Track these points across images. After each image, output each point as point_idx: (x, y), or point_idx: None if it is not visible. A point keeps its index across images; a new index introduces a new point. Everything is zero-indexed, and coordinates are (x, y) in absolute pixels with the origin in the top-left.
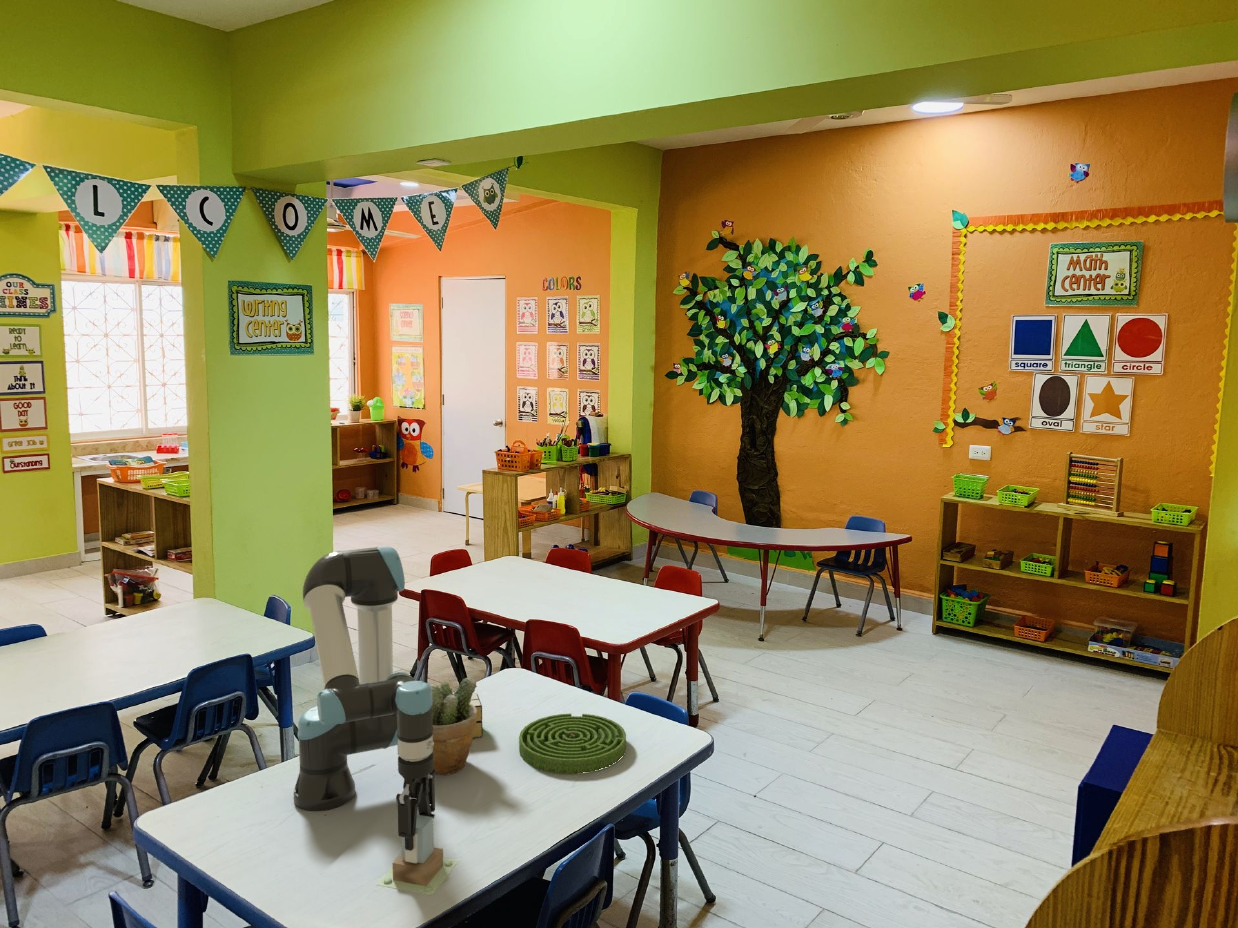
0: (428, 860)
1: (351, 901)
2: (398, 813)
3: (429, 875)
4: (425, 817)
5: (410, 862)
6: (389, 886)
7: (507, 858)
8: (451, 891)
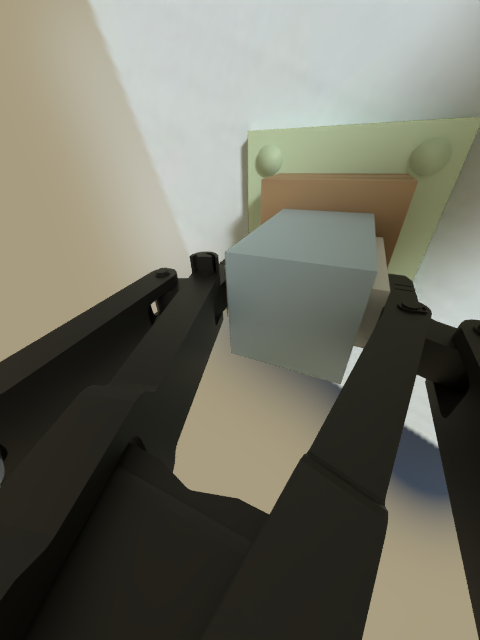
0: None
1: (185, 86)
2: (46, 340)
3: None
4: (335, 351)
5: None
6: (250, 180)
7: (422, 404)
8: None
